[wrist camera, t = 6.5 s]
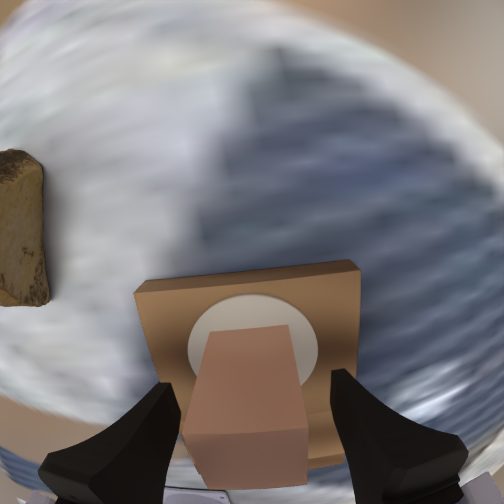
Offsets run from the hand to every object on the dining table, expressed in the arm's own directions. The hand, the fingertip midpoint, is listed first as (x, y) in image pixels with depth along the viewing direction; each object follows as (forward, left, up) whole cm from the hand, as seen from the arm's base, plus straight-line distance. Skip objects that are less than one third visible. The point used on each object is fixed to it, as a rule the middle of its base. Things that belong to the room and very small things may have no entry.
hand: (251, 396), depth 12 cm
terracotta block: (0, 0, -3) cm, 3 cm away
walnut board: (-4, 0, -6) cm, 7 cm away
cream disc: (0, 0, -4) cm, 4 cm away
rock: (+9, +15, -6) cm, 18 cm away
